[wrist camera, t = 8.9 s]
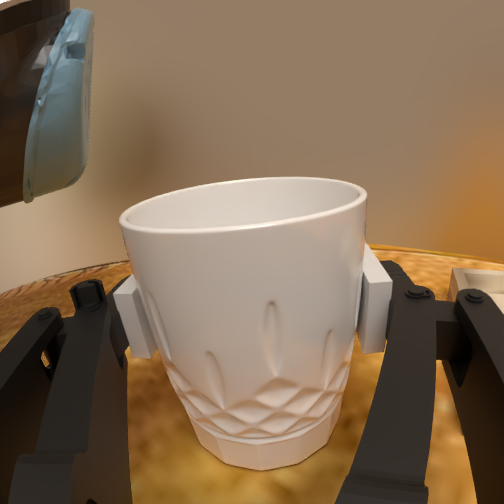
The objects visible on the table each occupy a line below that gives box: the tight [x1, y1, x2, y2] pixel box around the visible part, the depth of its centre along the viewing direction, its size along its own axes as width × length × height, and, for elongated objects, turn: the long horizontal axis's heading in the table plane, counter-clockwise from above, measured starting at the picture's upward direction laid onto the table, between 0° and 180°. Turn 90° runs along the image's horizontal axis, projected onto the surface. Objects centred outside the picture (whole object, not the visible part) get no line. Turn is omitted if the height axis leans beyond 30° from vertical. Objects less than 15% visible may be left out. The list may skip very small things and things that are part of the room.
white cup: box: [119, 177, 367, 471], centre depth 12 cm, size 8×8×10 cm
